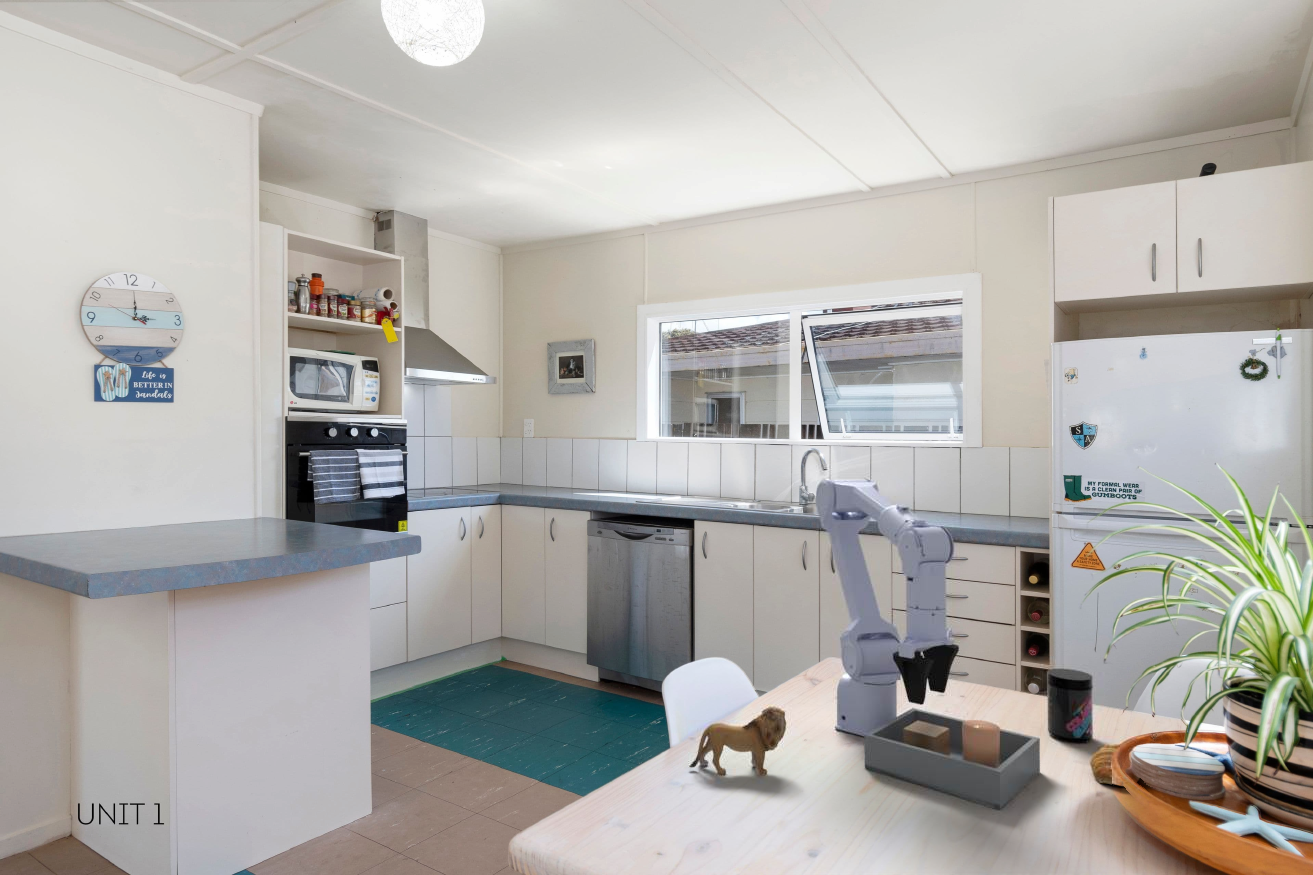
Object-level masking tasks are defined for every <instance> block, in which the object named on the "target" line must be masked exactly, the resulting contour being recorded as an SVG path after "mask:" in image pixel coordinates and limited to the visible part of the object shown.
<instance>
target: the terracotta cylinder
mask: <svg viewBox="0 0 1313 875" xmlns="http://www.w3.org/2000/svg"><path fill="white" fill-rule="evenodd" d="M1000 729H1001V728H1000V726H999V725H997V724H995V723H994V722H990V721H987V720H980V719H979V720H978V719H970V720H965V721H964V722H963V724H962V734H963V760H966V761H970V762H974V763H977V764H981V765H985V766H988V767H992V768H997V767H999V766H1000Z"/></svg>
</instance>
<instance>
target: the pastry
mask: <svg viewBox="0 0 1313 875" xmlns="http://www.w3.org/2000/svg"><path fill="white" fill-rule="evenodd" d="M1121 745H1122V744H1117V743H1116V744H1112V745H1111V744H1105V746H1102V747H1100V749H1099V750H1097V751H1096V752H1095V753H1094V754H1093V755H1092V756H1091V759H1090V761H1089V763H1090V764H1089V765H1090V768H1091V771H1092V774H1093V777H1094V779H1095V781H1097V782H1098V783H1099V784H1109V785H1112V769H1111V758H1112V755H1113V753H1114V751H1116V749H1117V748H1118V747H1120V746H1121Z"/></svg>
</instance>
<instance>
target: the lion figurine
mask: <svg viewBox="0 0 1313 875" xmlns="http://www.w3.org/2000/svg"><path fill="white" fill-rule="evenodd" d="M786 729H787V721H786V711H785V710H782V709H781V708H779V707H776V706H769V707H766V708H764V709H762V711H761V714H760V715H758V716H757V717H756V718H753V719H752V720H751V721H749V722H748V723H747V724H745V725H743V726H740V725H739V726H736V725H729V724H726V723H723V722H716V723H712V724H710V725H709V726H707V727H706V728H705V729H704V731H703V733H702V734H701V738H700V740H699V741H700V742H699V745H698V749H697V753H696V754H697V755H696V756H695V757H696V758H694V761H692V762H691V764H690V765H689V766H688V767H689V768H696V766H697V765H698V764H699V765H701V766H708V765H709V761H708V760H706V758H705V757H706V756H707V754H708V753H710V752H711V751H712V755H713V756H712V760H711V762H712V764H713V766H714V768H715V770H716V772H717V773H718V774H719V775H725V774H727V770H726V768H724V767H722V766H721V765H720V759H721V757H722V756H721V755H722V754H723V751H724V746H725V747H727V748H728V749H730V750H732V751H734V752H738V753H747V752H751V760H750V761H751V765H752V766H753V767H754V768H756V769H757V771H758V773H759V774H760V775H764V776H765V775H767V774H768V770H767V768H764V763H765V758H766V752H769V751H775V749H776V748H777V747H778V745H779V742H781V741H782V739H783V738H784V735H785V733H786ZM706 739H707V741H706ZM705 742H706V743H705Z"/></svg>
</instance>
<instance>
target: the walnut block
mask: <svg viewBox="0 0 1313 875" xmlns="http://www.w3.org/2000/svg"><path fill="white" fill-rule="evenodd" d="M903 743H904V744H908V745H911V746H915V747H919V748H922V749H926V750H930V751H933V752H937V753H941V754H944V755H948V756H950V728H946V727H942V726H938V725H934V724H930V723H926V722H922V721H916V722H914V723H912V724H911V725H909V726H907V727H905V728H904V729H903Z"/></svg>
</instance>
